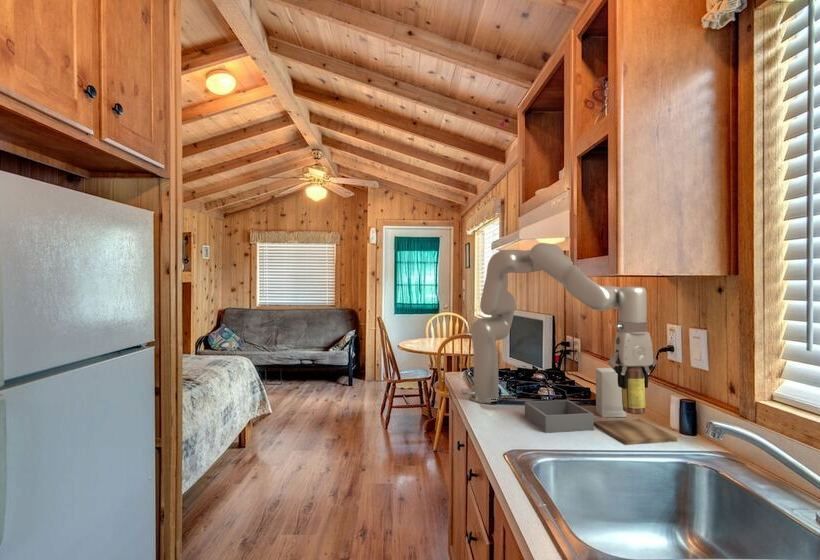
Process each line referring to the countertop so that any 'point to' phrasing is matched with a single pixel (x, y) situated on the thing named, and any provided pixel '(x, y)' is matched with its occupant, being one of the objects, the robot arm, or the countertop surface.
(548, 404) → the bin
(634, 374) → the sauce bottle
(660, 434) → the board
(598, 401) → the skincare box
